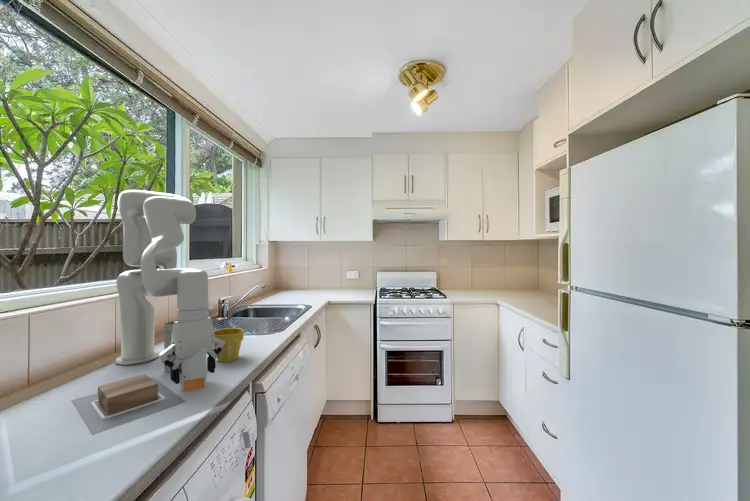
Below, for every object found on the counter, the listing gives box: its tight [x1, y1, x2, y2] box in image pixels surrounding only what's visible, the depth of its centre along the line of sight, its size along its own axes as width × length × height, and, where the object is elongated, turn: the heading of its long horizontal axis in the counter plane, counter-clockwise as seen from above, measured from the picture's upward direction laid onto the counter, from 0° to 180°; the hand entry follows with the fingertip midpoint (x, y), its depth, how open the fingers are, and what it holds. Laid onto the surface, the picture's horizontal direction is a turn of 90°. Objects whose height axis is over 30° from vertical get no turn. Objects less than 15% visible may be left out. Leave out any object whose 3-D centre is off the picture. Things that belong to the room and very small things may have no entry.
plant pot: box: [214, 327, 244, 363], centre depth 114 cm, size 10×10×10 cm
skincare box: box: [180, 347, 207, 392], centre depth 90 cm, size 6×4×12 cm
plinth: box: [97, 373, 158, 416], centre depth 81 cm, size 10×10×4 cm
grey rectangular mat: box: [70, 376, 187, 436], centre depth 81 cm, size 24×18×1 cm
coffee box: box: [163, 319, 181, 374], centre depth 104 cm, size 9×6×16 cm
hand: (194, 376), depth 90 cm, fingers open, 8 cm apart
